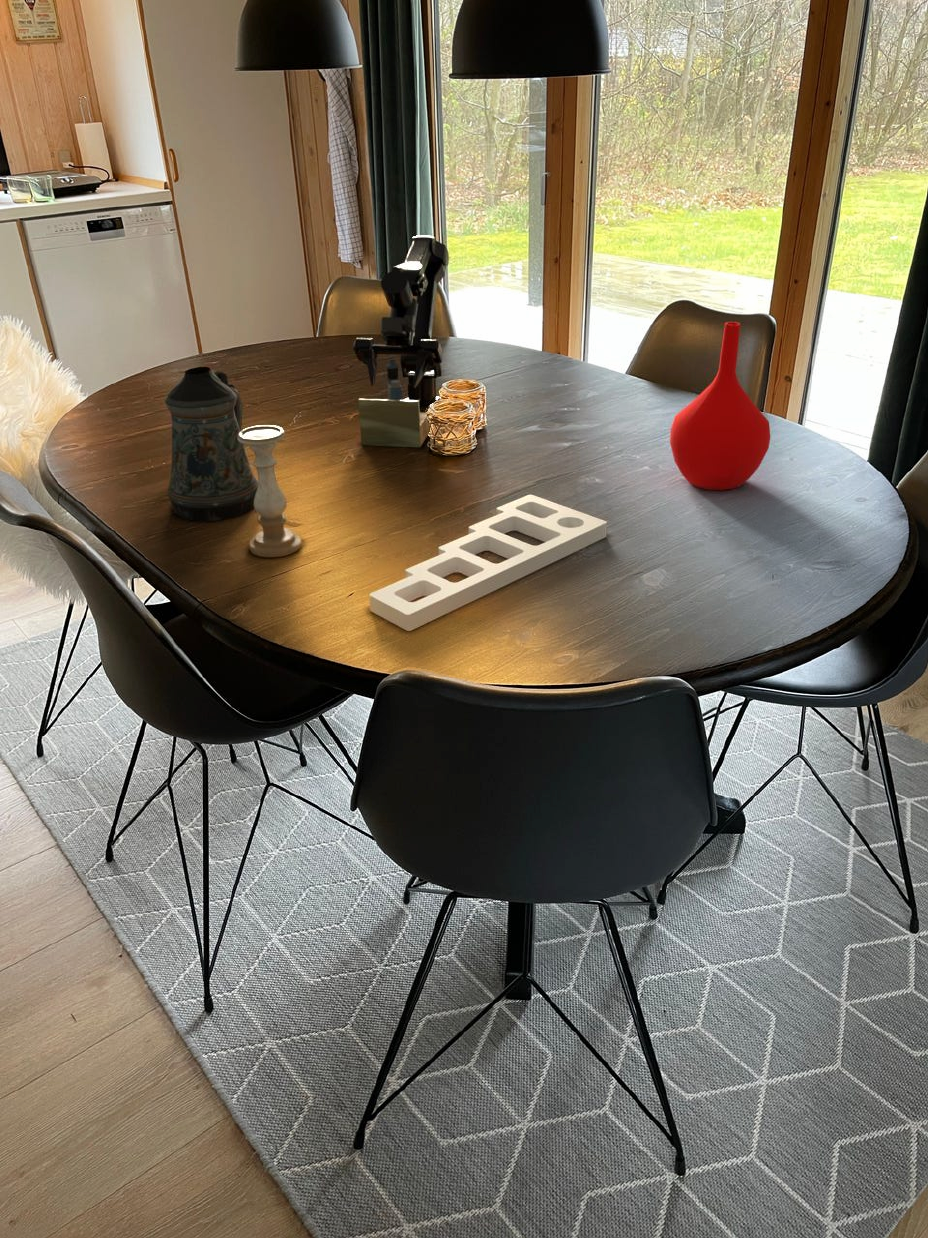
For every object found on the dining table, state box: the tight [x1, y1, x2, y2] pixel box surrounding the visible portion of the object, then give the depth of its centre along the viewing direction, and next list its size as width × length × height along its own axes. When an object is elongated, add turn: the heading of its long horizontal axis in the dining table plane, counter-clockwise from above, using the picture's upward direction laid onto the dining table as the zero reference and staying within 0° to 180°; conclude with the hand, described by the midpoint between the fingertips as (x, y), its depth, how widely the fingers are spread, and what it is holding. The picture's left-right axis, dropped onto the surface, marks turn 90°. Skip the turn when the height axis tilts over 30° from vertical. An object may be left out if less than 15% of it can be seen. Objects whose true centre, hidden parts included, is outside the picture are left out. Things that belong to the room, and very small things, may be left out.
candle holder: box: [237, 424, 302, 558], centre depth 158 cm, size 9×9×20 cm
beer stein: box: [164, 366, 258, 522], centre depth 175 cm, size 16×19×25 cm
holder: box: [368, 494, 608, 632], centre depth 156 cm, size 45×18×3 cm, turn 134°
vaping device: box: [386, 359, 403, 400], centre depth 206 cm, size 3×5×12 cm, turn 13°
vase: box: [669, 321, 771, 491], centre depth 178 cm, size 18×18×30 cm
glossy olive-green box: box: [357, 398, 430, 448], centre depth 208 cm, size 10×13×10 cm
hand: (393, 385), depth 205 cm, fingers open, 9 cm apart
